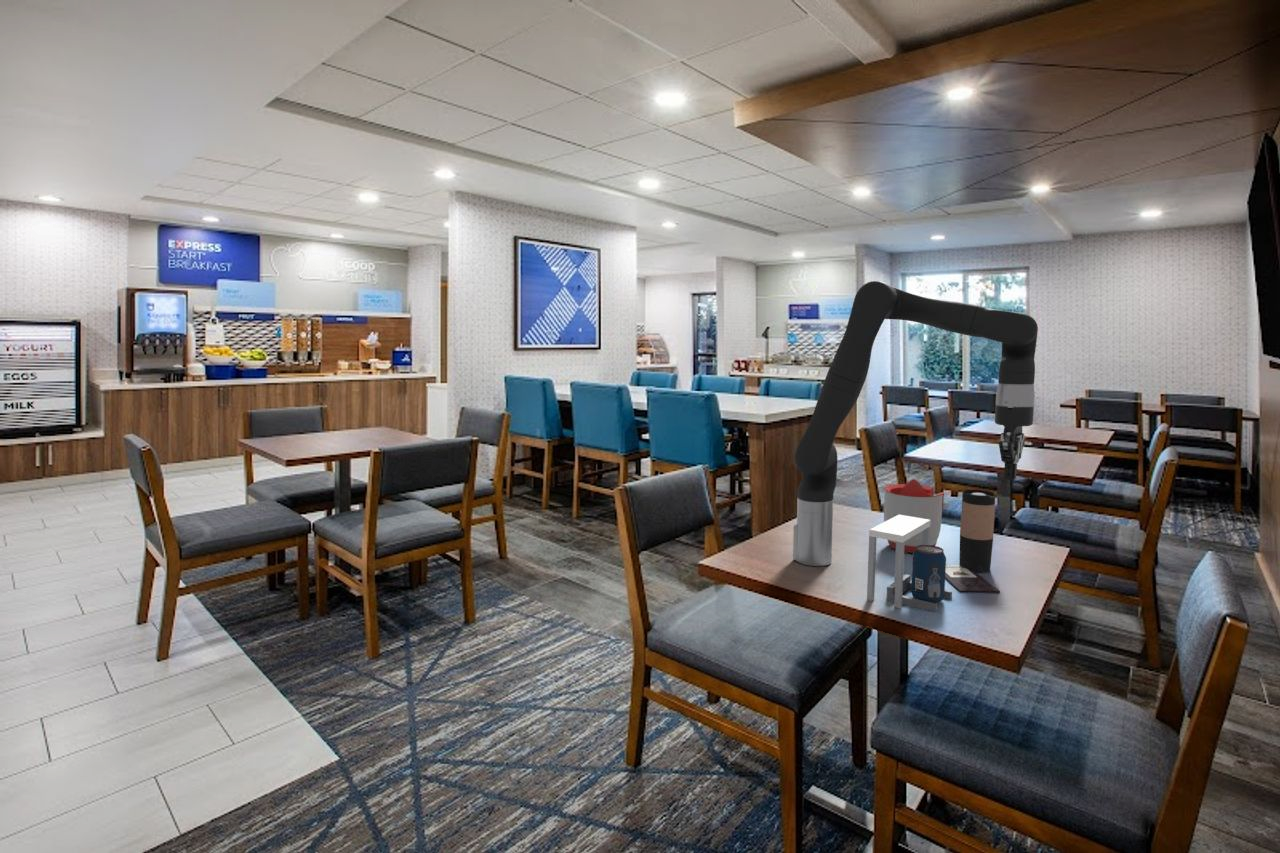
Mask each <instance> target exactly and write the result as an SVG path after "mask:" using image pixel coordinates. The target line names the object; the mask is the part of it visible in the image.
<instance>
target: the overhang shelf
mask: <svg viewBox="0 0 1280 853" xmlns="http://www.w3.org/2000/svg"><path fill="white" fill-rule="evenodd" d="M930 523H931V520H929V519H923V518H917V517H911V516H905V515H897V516H895V517H893V518H891V519H889V520H887V521H885V522H884V521H883V522H881V523H879V524H877V525H876V526H874V527H872V528H870V529H869V534H868V535H869V536H868V559H867V560H868V561H867V586H866V589H867V590H866V592H867V593H866V601H869V600H870V602H873V601H875V593H876V592H875V590H876V588H875V586H876V583H875V582H876V562H877V561H876V558H877V538H879V539H882V540H887V541H888V540H892V541H896V549H895V552H894V553H895V554H894V555H895V556H894V558H895V560H894V578H893V580H894V582H892V583H891V584H889V585H888V586H886V600H887V601H890V602H894V608H897V609H901V608H902V607H903V605H906V606H911V607H914V608H918V609H922V610H926V611H930V612H933V613H936V612H937V611H938V604H935V603H931V602H927V601H923V600H919V599H915V598H914V597H910V596H907V595H903V594H904V593H905V592H906V591H907V590H911V584H912V580H911V574H907V573H905V574H904V569H905V568H904V566H905V553H904V547H905V541H906V540H908V539H909V538H911V537H913V536H914V535H916V534H918V533H920V532H921V531H923V544H922V545H929V544H930ZM944 598H946V599H949V600H950V599H952V598H953V591H952V590H949V589H945V592H944Z"/></svg>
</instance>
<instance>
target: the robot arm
mask: <svg viewBox="0 0 1280 853" xmlns="http://www.w3.org/2000/svg"><path fill="white" fill-rule="evenodd" d="M885 320H897V321H898V320H899V321H909V322H913V323H919V324H922V325H926V326H930V327H932V328H936V329H940V330H943V331H946V332H950V333H955V334H959V335H964V336H968V337H974V338H982V339H983V338H984V339H986V340H990V341H995V342H998V343H1001V360H1000V362H999V367H998V368H999V369H998V382H997V388H996V393H995V409H994V423H995V424H996V425H999V426H1003V432H1001V434H1000V441H999V442H998V447H999V453H1000V459H1001V462H1002V463H1003V464H1004V470H1003V479H1004V480H1006V481H1014V480H1016V479H1017V472H1018V464H1019V462H1020V460H1021V458H1022V453H1023V449H1024V445H1025V441H1026V436H1025V433H1024V432H1023V427H1030V426H1032V425H1033V423H1034V409H1035V397H1036V396H1035V395H1036V394H1035V393H1036V392H1035V391H1036V390H1035V377H1036V376H1035V375H1036V365H1035V364H1036V363H1035V357H1036V356H1035V355H1036V349H1037V342H1038V341H1037V339H1038V332H1039V327H1038V323H1037V321H1036V320H1035V319H1034V318H1033V317H1032V316H1031V315H1030V314H1029V315H1028V314H1026V313H1022V312H1021V313H1020V312H1015V311H1008V310H1001V309H993V308H990V307H986V306H983V305H979V304H975V303H974V304H973V303H969V302H963V301H958V300H949V299H941V298H933V297H928V296H922V295H919V294H914V293H911V292H908V291H905V290H902V289H899V288H897V287H894V286H893V285H891V284H890V283H889V282H886V281H885V282H884V281H880V280H871V281H867V282H866V283H864V284H862V285H861V286H860V288H859V289H858V290H857V292H856V294H855V297H854V299H853V303H852V306H851V310H850V314H849V319H848V321H847V325H846V329H845V332H844V333H843V334H844V335H843V337H842V339H841V341H840V343H839V345H838V348H837V350H836V351H835V354H834V357H833V359H832V361H831V364H830V366H829V368H828V371H827V374H826V376H825V378H824V380H823V381H824V382H823V384H822V387H821V389H820V393H819V395H818V398H817V401H816V404H815V406H814V410H813V413H812V416H811V418H810V422H809V423H808V426H807V427H806V429H805V432H804V433H803V436H802V438H800V439H801V440H800V441H799V443H798V445H797V447H796V449H795V451H794V452H795V453H794V464H795V466H796V468H797V470H798V471H799V472H800V473H801V474H802V476H801V481H800V483H799V485H798V487H797V499H796V500H797V505H796V524H794V525H793V536H792V537H793V538H792V541H793V543H792V547H793V548H792V560H793V561H796V562H798V563H799V564H802V565H804V566H805V565H806V566H811V567H825V566H828V565H831V563H832V558H833V557H832V556H833V553H832V551H833V548H832V547H833V520H834V493H835V490H836V486H837V479H838V478H837V475H838V474H837V473H838V451H837V448H836V446H835V444H834V442H835V439H836V437H837V436H836V435H837V433H838V431H839V429H840V428H841V425H842V423H843V422H844V421H845V419H846V418H847V416H848V415H849V414H850V412H851V411H852V409H853V407H854V406H855V404H856V403H857V401H858V398H859V396H860V395H861V393H862V392H861V391H862V390H863V387H864V384H865V382H866V379H867V376H868V373H869V368H870V364H871V359H872V357H871V355H872V350H873V346H874V344H875V340H876V337H877V335H878V333H879V331H880V329H881V327H882V325H883V323H884V321H885Z"/></svg>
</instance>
